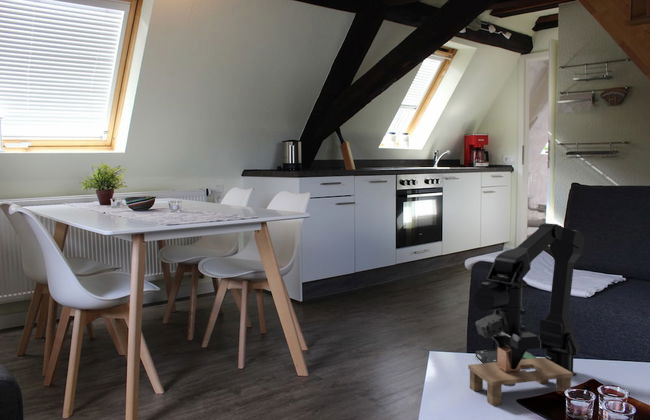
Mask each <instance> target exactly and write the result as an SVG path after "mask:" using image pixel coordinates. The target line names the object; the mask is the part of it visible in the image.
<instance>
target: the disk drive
mask: <svg viewBox="0 0 650 420" xmlns="http://www.w3.org/2000/svg"><path fill="white" fill-rule="evenodd" d="M476 357H477V358H478V359H479V360H480V361H481V362H482V363H492V362H497V358H498V348H496V349H485V350H484V349H483V350H476V351H475V358H476ZM533 358H537V357H536V356H535V355H533V354H532V353H530V352H528V351H526V352H525V354H524V355H523V357H522V359H521V360H523V359H533ZM478 359H477V360H478ZM479 360H478V361H479ZM480 361H479V362H480ZM481 362H480V363H481ZM482 363H481V364H482Z"/></svg>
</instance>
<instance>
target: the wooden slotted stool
mask: <svg viewBox="0 0 650 420" xmlns="http://www.w3.org/2000/svg"><path fill="white" fill-rule="evenodd" d="M467 367H468V368H467V369H468V370H469V388H470V390H472V391H473V392H479V391H484V384H483V383H484V382H486V383H487V384H486V385H487V387H486V388H487V390H486V391H487V393H486V396H487V397H486V399H487V400H486V402H487V403H488V404H489V405H491V406H499V405H502V388H503V387H502V385H503V386H505V384H514V383H516V384H522V383H531V382H537V383H538V384H540V385H541V384H543V385H544V384H549V382H550V381H549V380H555V381H556V382H555V392H556V391H564V390H565V389H568V388H571V389H572V387H571V385H572V384H571V383H572V378H573V377H574V376H573V373H572V372H570V371H568V370H566V369H564V368H563V367H561V366H559V365H557V364H555V363H553V362H552V361H550V360H548V359H546V358H545V357H536V358H533V359H523V360H521V361H520V370H517V371H511V372H506V371H504V370H502V369H501V368H499V367H498V366H497V362H492V363H474V364H467ZM526 369H533V370H530V371H529V370H528V371H527V370H526Z"/></svg>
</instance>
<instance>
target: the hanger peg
mask: <svg viewBox="0 0 650 420" xmlns="http://www.w3.org/2000/svg"><path fill="white" fill-rule="evenodd" d="M497 349H498V358H497V366H498V367H499V368H501V369H502V370H504V371H506V372H511V371H517V370H520V371H521V369H520V362H519V364H518V366H517V368H516V369H511V363H510V352H509V348H508V347H507V346H502V347H497ZM516 384H517V383H514V384H505V385H504V386H506V387H515V386H516Z"/></svg>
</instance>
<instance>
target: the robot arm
mask: <svg viewBox="0 0 650 420" xmlns="http://www.w3.org/2000/svg"><path fill="white" fill-rule="evenodd" d="M585 242H586V241H585V237H584V235H583V234H582V232H581V231H580V230H576V229H569V228H566V227H564V226H562V225H559V224H557V223H549V222H548V223H546V222H543V223H540V224H539V226H538V228H537V229H536V230H535V231H534V232H532V234H530V235H529V236H528V237H527V238H525V240H524V241H523V242H521V243H520V244H519V245H518V246H516V247H514V248H511V249H507V250H506V249H505V250H504V251H502V252H501V253H499V254H498V255H497V256H496V257H495V259H494V261H493V262H492V265H491V268H490V270H489V271H488V274H487V276H486V278H485V281H483V282H481V285H480V288H478V289H477V290H476V292H475V294H474V296H473V300H474V303H475V306H476V307H477V309H479V310H480V311H482V312H491V311H492V312H493V313H492V314H490V315H486V316H485V317H483V318H481V319H478V320H476V321H475V327H476V330H477V333H478V335H479V336H482V337H483V338H485V339H490V338H491V339H492V340H493V341H495V343H496V346H497V348H498V347H502V346H507V347H508V348H509V352H510V363H511V369H516V368H517V366H518V364H519V362H520V361H521V359H522V357H523V355H524V354H525V352H528V350H534V349H542V350H546V355H545V357H544V358H546V359H548V360H550V361H552V362H553V363H555V364H557V365H559V366H561V367H563V368H564V369H566V370H568V371H570V372H572V373H573V377H574V376H578V375H577V372H576V371H574V356H575V357H576V356H578V354H579V353H580V348H581V344H580V343H579V341H578V340H577V338H576V337H575V336H574V332H575V331H574V329H575V328H574V325H573V323H572V321H571V319H570V317H569V315H570V314H569V313H570V303H571V294H572V287H573V285H572V284H573V275H574V266H575V263H576V262H577V260H578V259H579V257H581V255H582V253H583V248H584V246H585ZM548 247H549V252H550V255H551V256H552V259H553V260H554V263H553V273H552V282H551V293H550V302H549V309H548V314H546V317H544V318H541V320H540V321H539V330H538V335H536V334H534V333H532V332H530V331H527V332H525V331H526V326H525V325H523V323H522V321H523V320H522V319H523V318H522V317H523V316H524V315H526V310H525V309H523V287H525V286H527V285H528V282H527V281H526V280H525V279H524V278H525V277H526V275H527V274H528V273H529V272H530V270H531V263H532V262H533V261H534V260H535V259H536V258H537V257H538V256H539V255H541V253H542V252H544V251H545V250H546V248H548Z"/></svg>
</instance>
